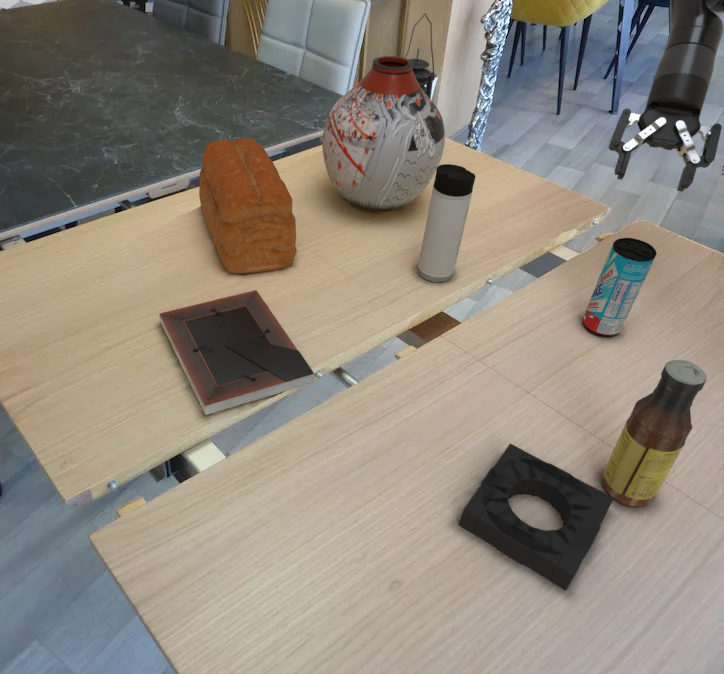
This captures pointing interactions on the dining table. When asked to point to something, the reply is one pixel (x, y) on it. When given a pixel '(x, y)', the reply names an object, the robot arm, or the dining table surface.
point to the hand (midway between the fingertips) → (650, 183)
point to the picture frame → (234, 351)
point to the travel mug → (445, 222)
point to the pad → (523, 542)
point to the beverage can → (618, 286)
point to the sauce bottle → (653, 435)
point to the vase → (383, 138)
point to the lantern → (423, 66)
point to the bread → (246, 207)
